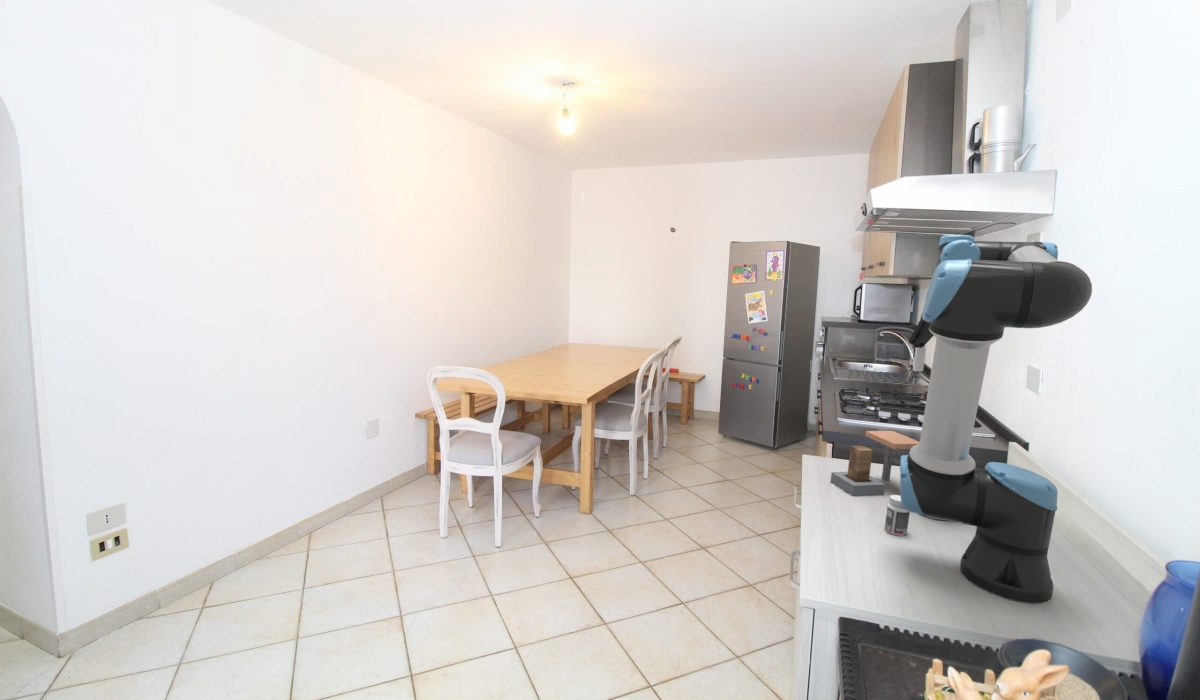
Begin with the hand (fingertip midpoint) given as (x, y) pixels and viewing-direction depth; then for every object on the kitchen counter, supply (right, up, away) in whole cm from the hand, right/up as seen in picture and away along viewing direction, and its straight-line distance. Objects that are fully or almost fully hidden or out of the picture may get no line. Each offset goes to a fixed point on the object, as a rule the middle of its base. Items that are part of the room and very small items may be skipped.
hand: (937, 376), depth 145 cm
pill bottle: (-19, -37, -14) cm, 44 cm away
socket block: (-16, -33, +11) cm, 38 cm away
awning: (-6, -33, +13) cm, 36 cm away
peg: (-16, -33, +11) cm, 38 cm away
